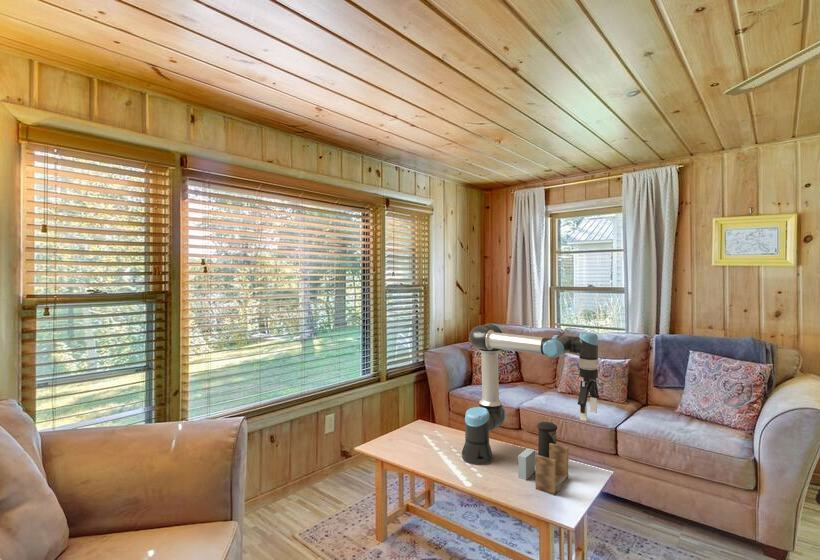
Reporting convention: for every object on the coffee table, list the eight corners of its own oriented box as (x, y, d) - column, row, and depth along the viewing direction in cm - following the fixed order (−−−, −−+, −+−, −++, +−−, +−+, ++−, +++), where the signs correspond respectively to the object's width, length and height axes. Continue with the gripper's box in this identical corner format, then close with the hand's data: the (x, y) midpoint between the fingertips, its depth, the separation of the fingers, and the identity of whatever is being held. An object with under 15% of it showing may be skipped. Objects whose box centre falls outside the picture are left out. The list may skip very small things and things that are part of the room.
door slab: (517, 477, 181) (517, 455, 181) (526, 469, 189) (526, 447, 189) (525, 480, 179) (525, 457, 179) (534, 471, 187) (534, 450, 186)
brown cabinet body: (535, 488, 172) (535, 455, 171) (549, 473, 185) (549, 442, 185) (555, 495, 166) (555, 461, 166) (569, 479, 179) (569, 447, 179)
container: (558, 470, 187) (558, 427, 187) (538, 469, 189) (538, 426, 189) (555, 462, 196) (555, 420, 196) (536, 460, 198) (536, 419, 197)
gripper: (588, 374, 168) (588, 425, 168) (606, 364, 187) (606, 410, 187) (569, 371, 173) (569, 421, 173) (589, 362, 192) (589, 407, 192)
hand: (588, 416), depth 180 cm, fingers open, 13 cm apart
